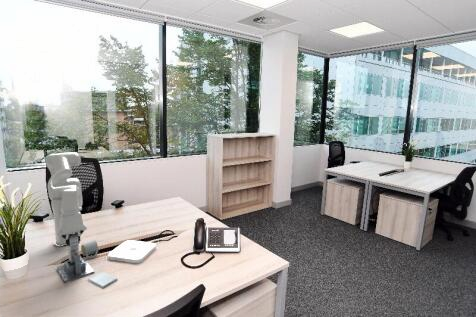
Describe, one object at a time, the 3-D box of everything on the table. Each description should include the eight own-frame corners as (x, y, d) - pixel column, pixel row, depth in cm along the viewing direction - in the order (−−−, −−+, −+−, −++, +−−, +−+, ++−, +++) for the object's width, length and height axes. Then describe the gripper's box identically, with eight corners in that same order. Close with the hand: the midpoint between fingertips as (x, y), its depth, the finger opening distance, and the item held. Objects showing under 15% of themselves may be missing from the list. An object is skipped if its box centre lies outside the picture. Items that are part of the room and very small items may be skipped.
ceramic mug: (80, 253, 170) (80, 242, 169) (95, 249, 175) (94, 238, 174) (85, 260, 162) (85, 248, 161) (100, 256, 168) (100, 244, 167)
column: (68, 259, 151) (66, 233, 149) (77, 256, 154) (75, 231, 152) (71, 263, 147) (69, 236, 145) (80, 261, 150) (78, 234, 148)
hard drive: (117, 278, 144) (102, 271, 150) (103, 286, 137) (87, 278, 143) (117, 281, 144) (102, 273, 150) (103, 289, 137) (88, 281, 143)
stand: (56, 268, 153) (54, 248, 151) (84, 260, 163) (83, 240, 161) (64, 283, 140) (62, 261, 139) (94, 272, 150) (93, 252, 148)
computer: (139, 264, 160) (139, 260, 160) (105, 259, 165) (105, 255, 164) (157, 247, 182) (157, 243, 181) (127, 243, 186) (127, 239, 185)
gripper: (86, 206, 155) (88, 237, 158) (50, 213, 143) (53, 246, 146) (90, 210, 150) (92, 241, 152) (54, 217, 138) (56, 251, 141)
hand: (73, 243), depth 149 cm, fingers closed on column, 4 cm apart
